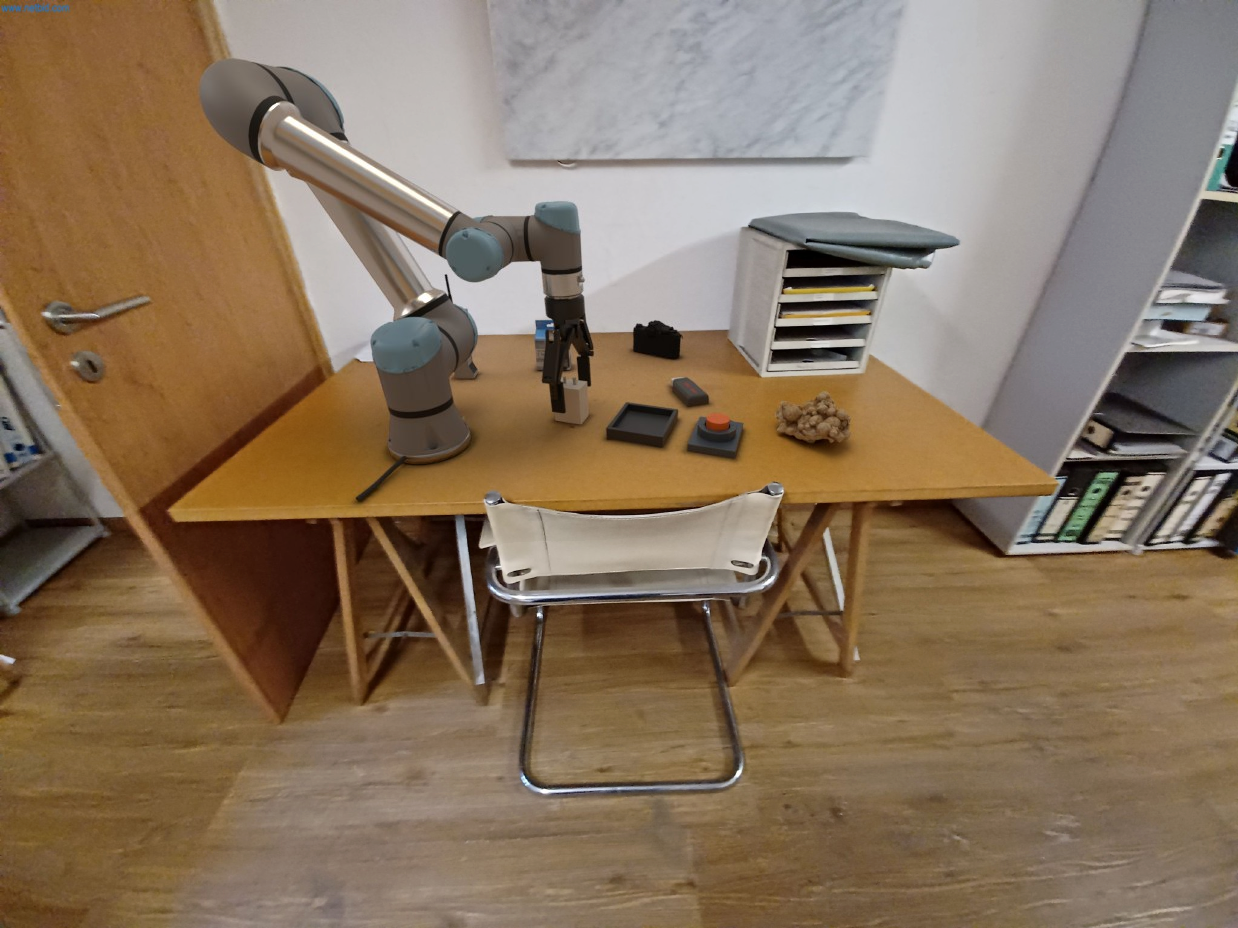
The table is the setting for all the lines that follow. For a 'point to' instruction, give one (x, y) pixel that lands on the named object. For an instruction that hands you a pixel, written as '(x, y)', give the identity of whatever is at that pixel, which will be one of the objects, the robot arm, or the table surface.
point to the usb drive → (689, 392)
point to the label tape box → (541, 342)
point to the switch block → (715, 439)
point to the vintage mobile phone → (468, 367)
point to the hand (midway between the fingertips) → (572, 398)
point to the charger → (574, 401)
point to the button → (717, 422)
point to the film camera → (657, 340)
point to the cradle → (642, 424)
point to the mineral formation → (814, 420)
